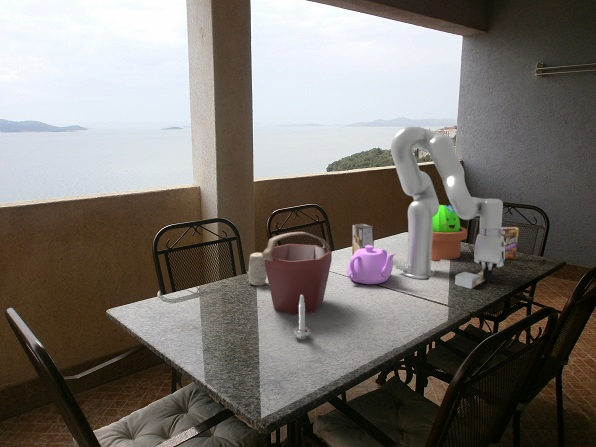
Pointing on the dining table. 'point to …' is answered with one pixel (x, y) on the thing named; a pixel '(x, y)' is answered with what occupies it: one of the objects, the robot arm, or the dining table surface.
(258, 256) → the carving
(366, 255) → the teapot
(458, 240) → the potted cactus
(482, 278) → the oak link
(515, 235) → the candy box
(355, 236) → the coffee box
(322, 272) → the bucket
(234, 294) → the dining table surface
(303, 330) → the screw
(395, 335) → the dining table surface
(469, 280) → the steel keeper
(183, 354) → the dining table surface
